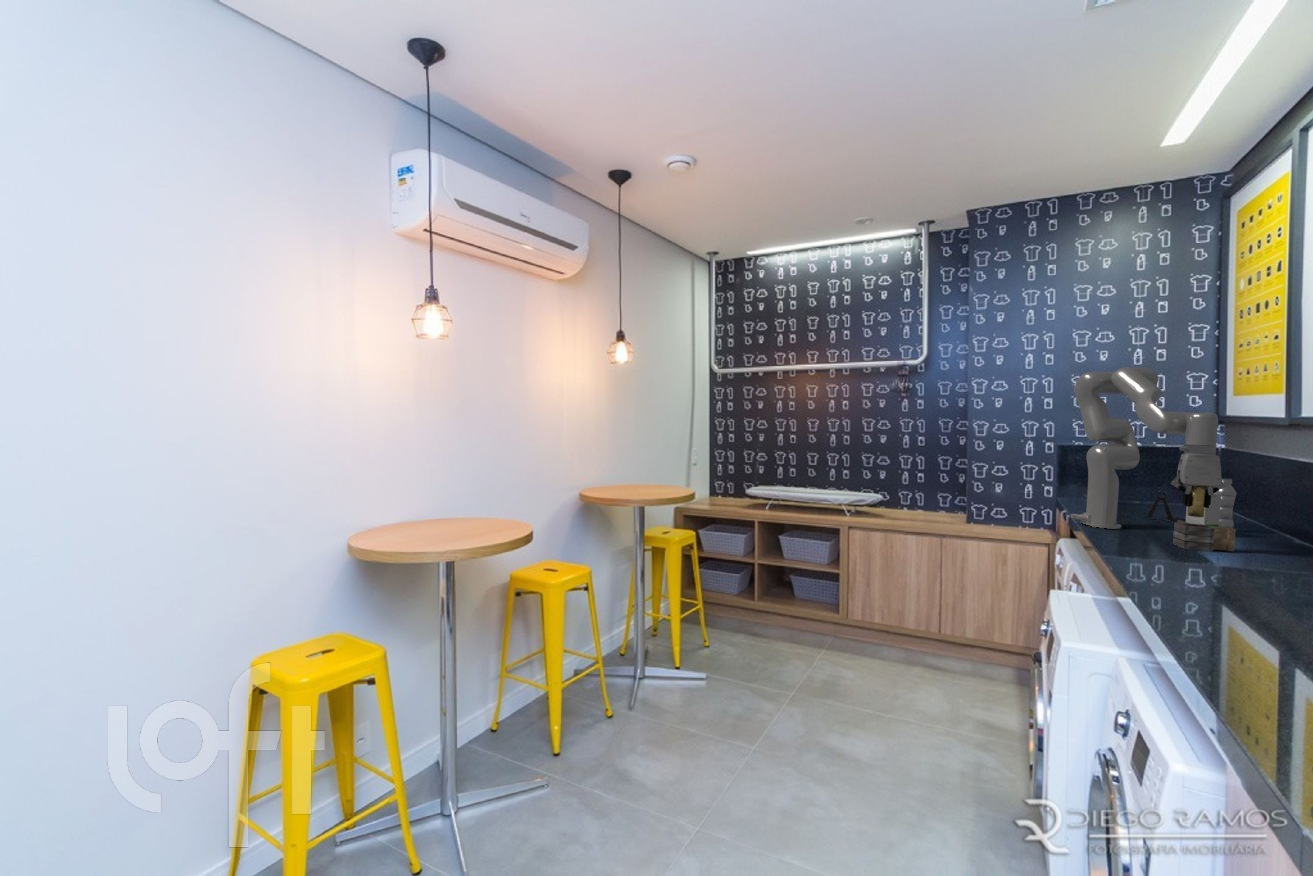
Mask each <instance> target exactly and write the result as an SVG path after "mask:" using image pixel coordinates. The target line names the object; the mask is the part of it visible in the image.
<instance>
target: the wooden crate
mask: <svg viewBox="0 0 1313 876" xmlns="http://www.w3.org/2000/svg"><path fill="white" fill-rule="evenodd" d="M1208 527H1211V528H1214V529H1215V532H1214V536H1202V535H1190V534H1183V533H1181V532H1178V531H1176V530H1173V537H1176V538H1179V539H1181V540H1184V541H1192V542H1205V543H1212V544H1214V545H1213V550H1216V551H1218V550H1219V551H1227V552H1235V546H1236V545H1235V544H1236V543H1235V542H1236V532H1237V531H1236V530H1237V529H1236V528H1234V527H1233V528H1230V527H1213V526H1208Z"/></svg>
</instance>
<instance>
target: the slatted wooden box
mask: <svg viewBox="0 0 1313 876" xmlns="http://www.w3.org/2000/svg"><path fill="white" fill-rule="evenodd" d="M1173 523H1174V524H1173V526H1174V527H1173V531H1178V532H1181V533H1183V534H1190V535H1202V536H1214V532H1215V529H1214V528H1211V527H1208V526H1206V525H1203V524H1190V523H1188V522H1186V520H1185V521H1184V520H1182V519H1177V520H1176V521H1174V522H1173ZM1172 539H1173V540H1172V545H1173V544H1174V545H1173V546H1175V545H1177V546H1178V547H1177V546H1176V547H1177V548H1180V547H1181V548H1180V549H1182V548H1183V550H1185V549H1186V551H1187V550H1188V551H1197V550H1199V551H1200V552H1208V551H1210V553H1212V552H1214V549H1213V545H1214V544H1212V543H1205V542H1192V541H1184V540H1181V539H1179V538H1176V537H1174V536H1173V538H1172ZM1199 551H1198V552H1199Z"/></svg>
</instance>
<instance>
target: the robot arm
mask: <svg viewBox="0 0 1313 876" xmlns="http://www.w3.org/2000/svg"><path fill="white" fill-rule="evenodd" d="M1158 384H1159V376H1158V374H1157V372H1156V371H1155V370H1153V369H1152V368H1149V367H1137V366H1134V367H1133V366H1125V367H1121V368H1118V369H1116V370H1115V371H1089V372H1085V373H1083V374H1081V375H1080V376H1079V377H1078V378H1077V380H1076V382H1075V385H1074V396H1075V399H1076V402H1077V405H1078V406H1079V410H1080V413H1081V419H1082V423H1083V427H1084V432H1085V435H1086V437H1087V439H1088V440H1090V441H1091V442H1094V443H1095V442H1097V443H1103V444H1096V445H1092V446H1091V447H1089V449H1088V451H1087V453H1086V463H1087V465H1086V466H1087V471H1088V473H1087V474H1088V477H1087V493H1086V494H1087V495H1086V512H1083V513H1080V514H1078V513H1071V514H1070V518H1071V519H1072V520H1080V523H1081V522H1082V523H1083V524H1086V525H1090V526H1092V527H1091V528H1096V527H1099V528H1098V529H1104V528H1107V530H1120V529H1122V524H1119V523H1117V517H1118V504H1119V502H1118V501H1119V491H1120V487H1119V486H1120V481H1119V476H1118V473H1117V472H1116V470H1132V469H1134V468H1137V466H1138V465H1139V462H1140V460H1141V459H1140V457H1141V456H1140V450H1139V447H1138V442H1137V439H1136V438H1137V437H1136V435H1135V431H1134V428H1133V426H1132V424H1131V422H1129V421H1128V420H1126V419H1124V418H1121V417H1120V418H1119V417H1118V418H1117V417H1111V415H1110V414H1109V409H1108V406H1107V404H1106V402H1105V401H1104V399H1103V398H1102V397H1100V395H1099V394H1104V395H1105V394H1107V395H1110V394H1111V395H1125V396H1126V398H1128V399H1129V400H1130V401H1131V402H1132V403H1134V405H1135V413H1136V416H1137V418H1138V419H1139V421H1140V422H1142V423H1143V424H1144V425H1145V426H1146V427H1147V428H1149V430H1150V431H1153V432H1155V433H1157V434H1161V435H1162V434H1163V435H1185V438H1184V444H1183V446H1179V451H1180V452H1183V453H1182V454H1181V456H1180V458H1179V461H1178V466H1177V472H1176V476H1175V477H1174V478H1173V479H1172V480H1171V481H1170V485H1171V486H1173V487H1175V488H1177V489H1178V490H1179V491H1180V492H1181V493H1182V504H1183V506H1184V507H1186V508H1187V507H1190V506H1191V499H1192V495H1190V491H1191V488H1192V485H1194V486H1206V493H1205V508H1209V505H1210V504H1211V496H1212V495H1213V494H1214V493H1215V492H1217V491H1218V490H1220V489H1223V488H1225V487H1226V486H1225V484H1224V483H1223V482H1222V480H1221V478H1222V465H1221V460H1220V459H1221V458H1220V456H1219V455H1216V453H1217V439H1218V424H1219V417H1218V414H1216V413H1212V412H1187V411H1165V410H1164V409H1162V408H1161V407H1160V406H1158V405H1157V404H1156V403H1157V402H1158V401H1160V399H1161V397H1162V395H1163V392H1162V389H1161V388H1160V387H1159V386H1157V385H1158ZM1106 443H1107V444H1106ZM1108 443H1110V444H1108ZM1182 484H1183V485H1182ZM1090 526H1089V527H1090Z"/></svg>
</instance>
